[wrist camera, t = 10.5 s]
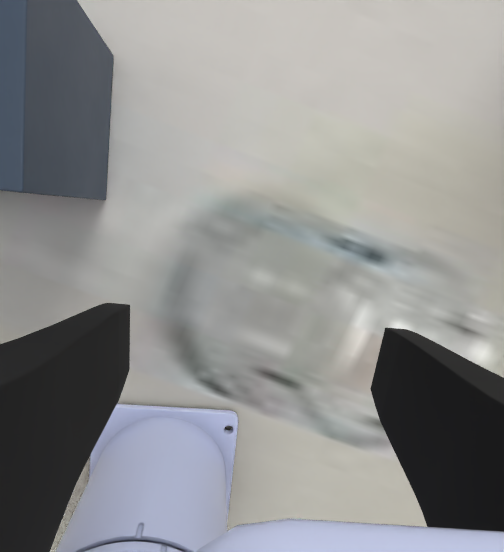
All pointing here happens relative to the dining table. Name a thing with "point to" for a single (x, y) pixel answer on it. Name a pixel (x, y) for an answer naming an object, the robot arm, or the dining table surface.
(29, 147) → the toaster body
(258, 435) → the dining table surface
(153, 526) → the robot arm
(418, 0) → the dining table surface
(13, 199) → the dining table surface
